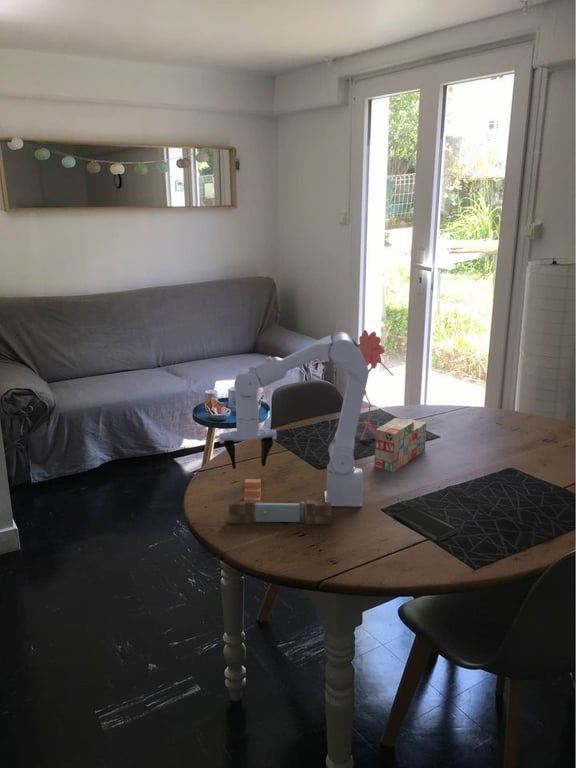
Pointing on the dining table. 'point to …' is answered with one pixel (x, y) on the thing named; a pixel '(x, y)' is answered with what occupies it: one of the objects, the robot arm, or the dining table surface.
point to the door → (280, 512)
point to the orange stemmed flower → (370, 361)
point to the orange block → (253, 490)
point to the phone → (425, 523)
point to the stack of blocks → (398, 443)
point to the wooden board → (245, 512)
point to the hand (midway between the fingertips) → (248, 466)
